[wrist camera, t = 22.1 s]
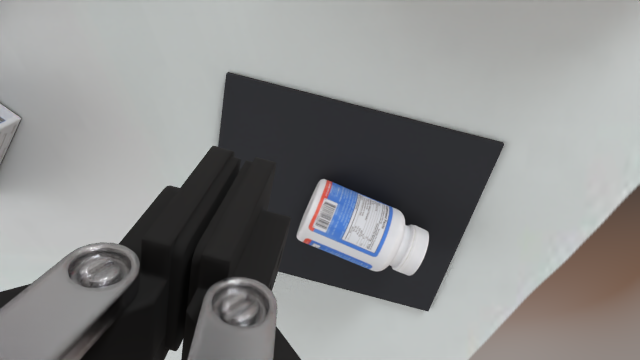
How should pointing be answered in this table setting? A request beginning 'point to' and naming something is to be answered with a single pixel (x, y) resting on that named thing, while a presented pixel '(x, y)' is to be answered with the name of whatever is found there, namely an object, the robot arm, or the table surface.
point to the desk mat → (359, 177)
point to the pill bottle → (361, 230)
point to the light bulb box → (7, 128)
